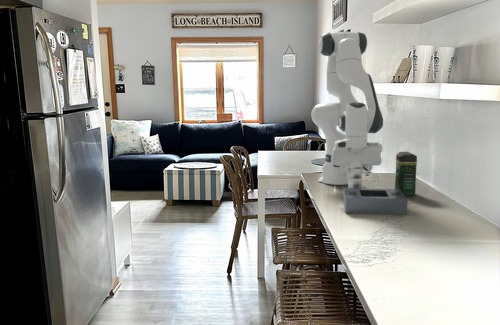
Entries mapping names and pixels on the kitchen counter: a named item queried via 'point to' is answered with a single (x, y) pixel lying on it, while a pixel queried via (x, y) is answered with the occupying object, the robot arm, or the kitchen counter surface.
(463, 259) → the kitchen counter surface
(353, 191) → the grey slotted block
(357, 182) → the silver bottle
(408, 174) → the coffee jar
